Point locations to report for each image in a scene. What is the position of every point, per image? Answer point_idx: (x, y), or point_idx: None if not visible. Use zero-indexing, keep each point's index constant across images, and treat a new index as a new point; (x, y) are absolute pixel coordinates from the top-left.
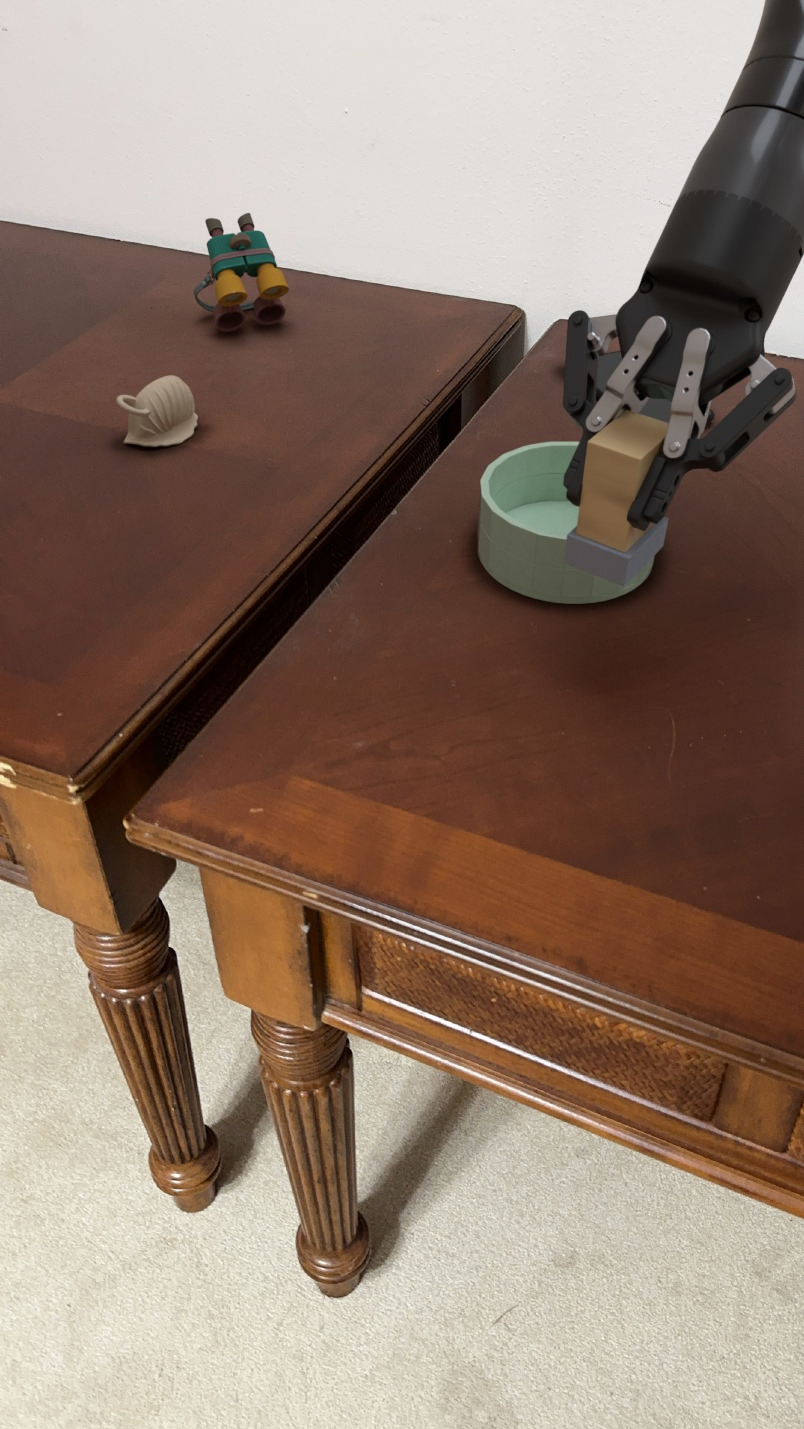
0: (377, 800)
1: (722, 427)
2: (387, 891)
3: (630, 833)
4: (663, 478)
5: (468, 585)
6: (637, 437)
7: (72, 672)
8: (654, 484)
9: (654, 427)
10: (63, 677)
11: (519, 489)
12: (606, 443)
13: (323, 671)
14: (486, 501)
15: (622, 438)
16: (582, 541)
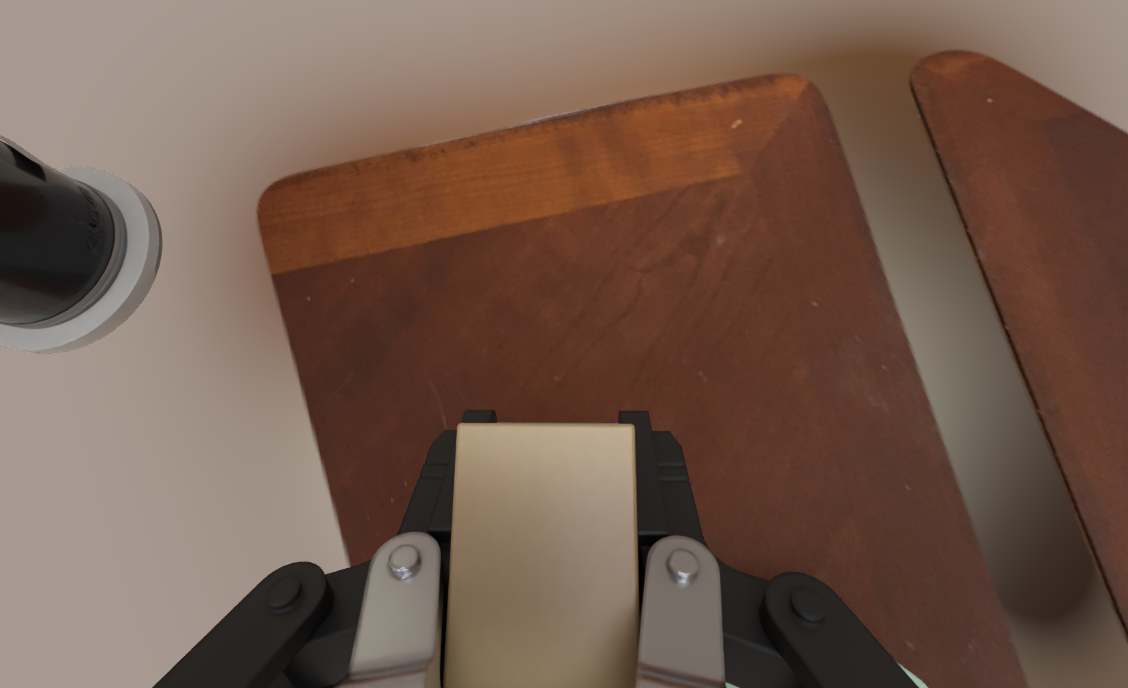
0: (655, 194)
1: (230, 672)
2: (581, 123)
3: (435, 297)
4: (432, 500)
5: (813, 559)
6: (518, 537)
7: (1041, 146)
8: (447, 472)
9: (501, 637)
10: (1041, 135)
11: None
12: (581, 447)
13: (833, 305)
14: (902, 666)
15: (554, 501)
16: (593, 423)
